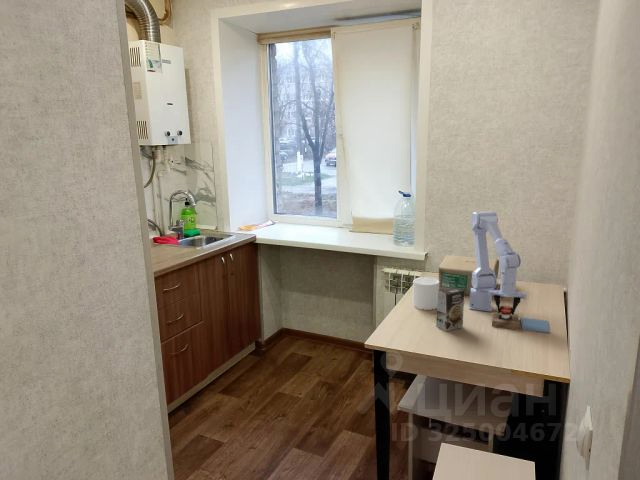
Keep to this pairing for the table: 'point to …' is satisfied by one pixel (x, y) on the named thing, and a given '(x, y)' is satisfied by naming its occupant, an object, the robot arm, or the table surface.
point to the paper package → (461, 272)
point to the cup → (425, 293)
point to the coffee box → (450, 308)
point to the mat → (535, 325)
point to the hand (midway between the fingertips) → (505, 313)
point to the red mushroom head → (505, 312)
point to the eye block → (505, 321)
